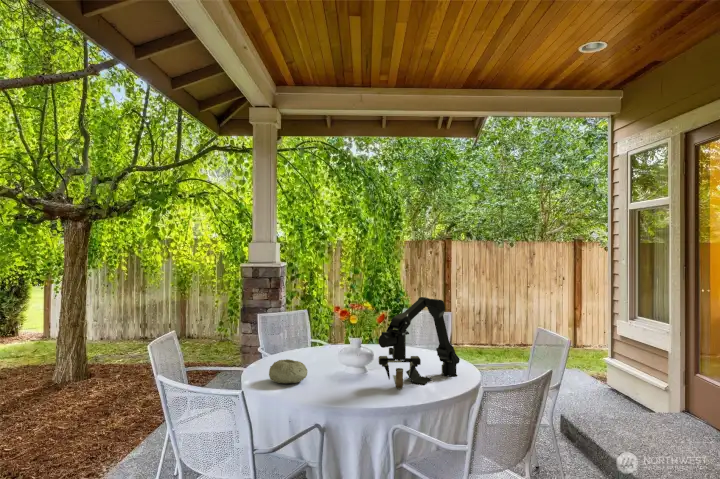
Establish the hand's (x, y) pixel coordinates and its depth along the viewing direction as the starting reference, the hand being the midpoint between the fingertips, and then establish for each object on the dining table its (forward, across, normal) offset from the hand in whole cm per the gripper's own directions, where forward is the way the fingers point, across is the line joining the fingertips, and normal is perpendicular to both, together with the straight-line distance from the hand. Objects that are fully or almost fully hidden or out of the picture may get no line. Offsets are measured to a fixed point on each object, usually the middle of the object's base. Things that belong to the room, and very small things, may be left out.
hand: (399, 379), depth 206 cm
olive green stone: (+4, +52, -8) cm, 52 cm away
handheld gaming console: (+4, -10, -10) cm, 15 cm away
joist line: (+4, 0, -8) cm, 9 cm away
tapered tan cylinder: (+3, 0, 0) cm, 3 cm away
